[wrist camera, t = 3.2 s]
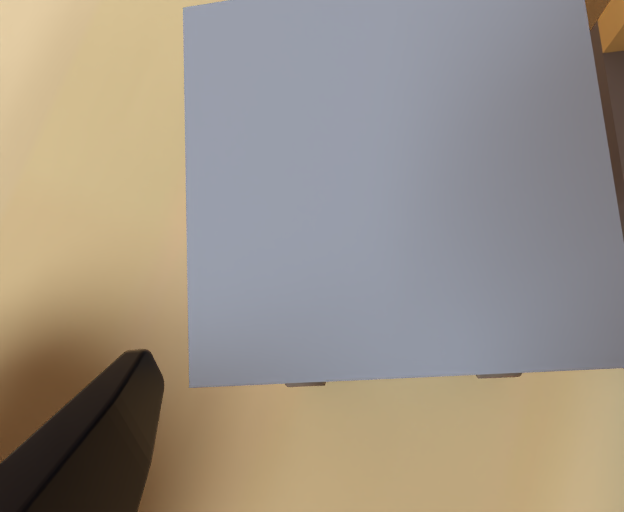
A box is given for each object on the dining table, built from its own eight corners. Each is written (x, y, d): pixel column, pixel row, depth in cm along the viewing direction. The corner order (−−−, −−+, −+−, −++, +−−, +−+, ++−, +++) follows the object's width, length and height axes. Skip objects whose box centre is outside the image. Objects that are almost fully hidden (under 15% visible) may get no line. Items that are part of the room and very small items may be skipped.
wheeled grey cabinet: (507, 373, 18) (793, 465, 5) (297, 383, 19) (95, 478, 6) (480, 143, 19) (650, -242, 6) (286, 164, 20) (102, -129, 7)
